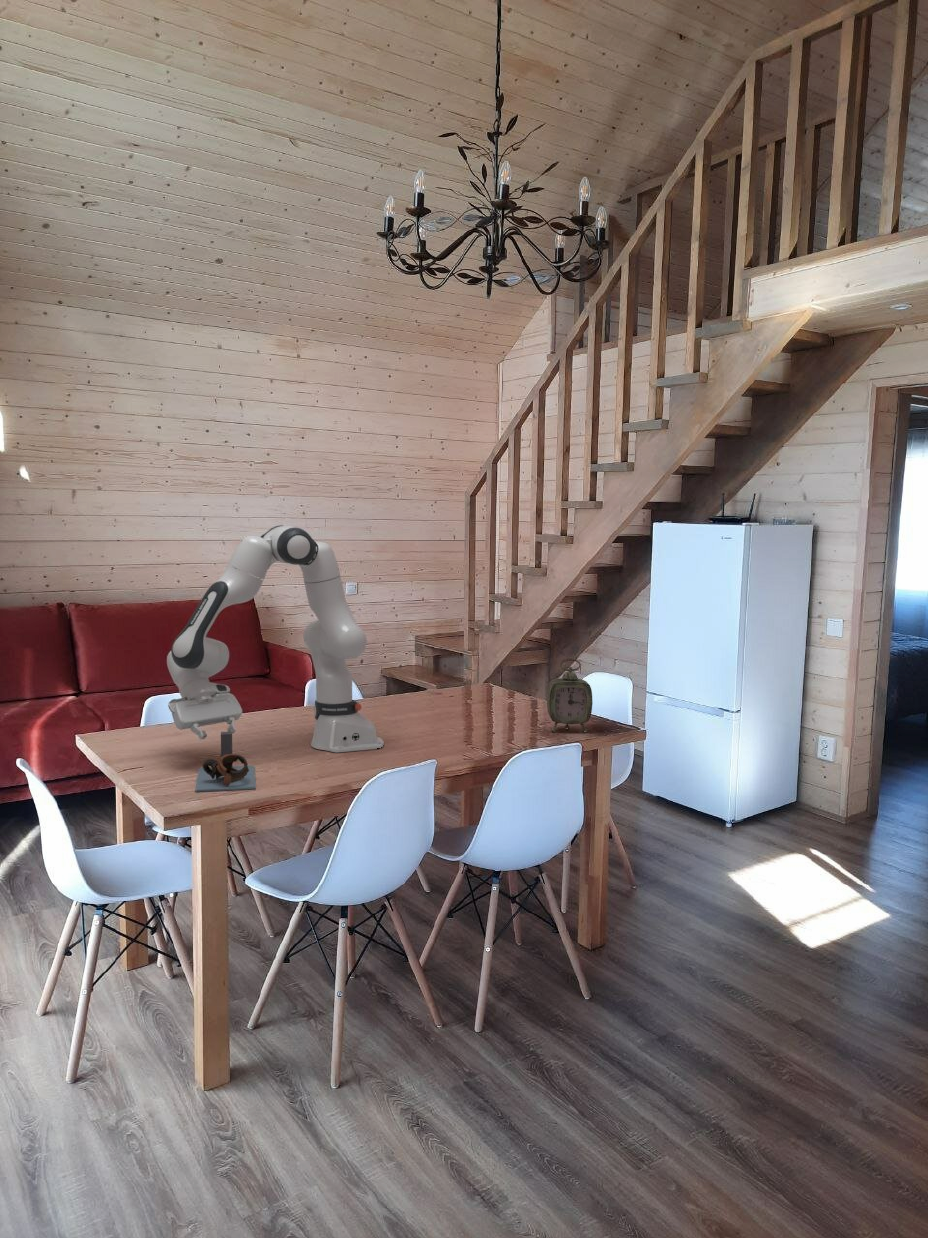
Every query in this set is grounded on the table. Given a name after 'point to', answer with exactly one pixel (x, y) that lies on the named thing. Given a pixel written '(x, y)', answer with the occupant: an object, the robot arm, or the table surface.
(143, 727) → the table surface
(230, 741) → the grey base with post
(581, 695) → the tabletop clock
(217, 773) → the brown looped bands
